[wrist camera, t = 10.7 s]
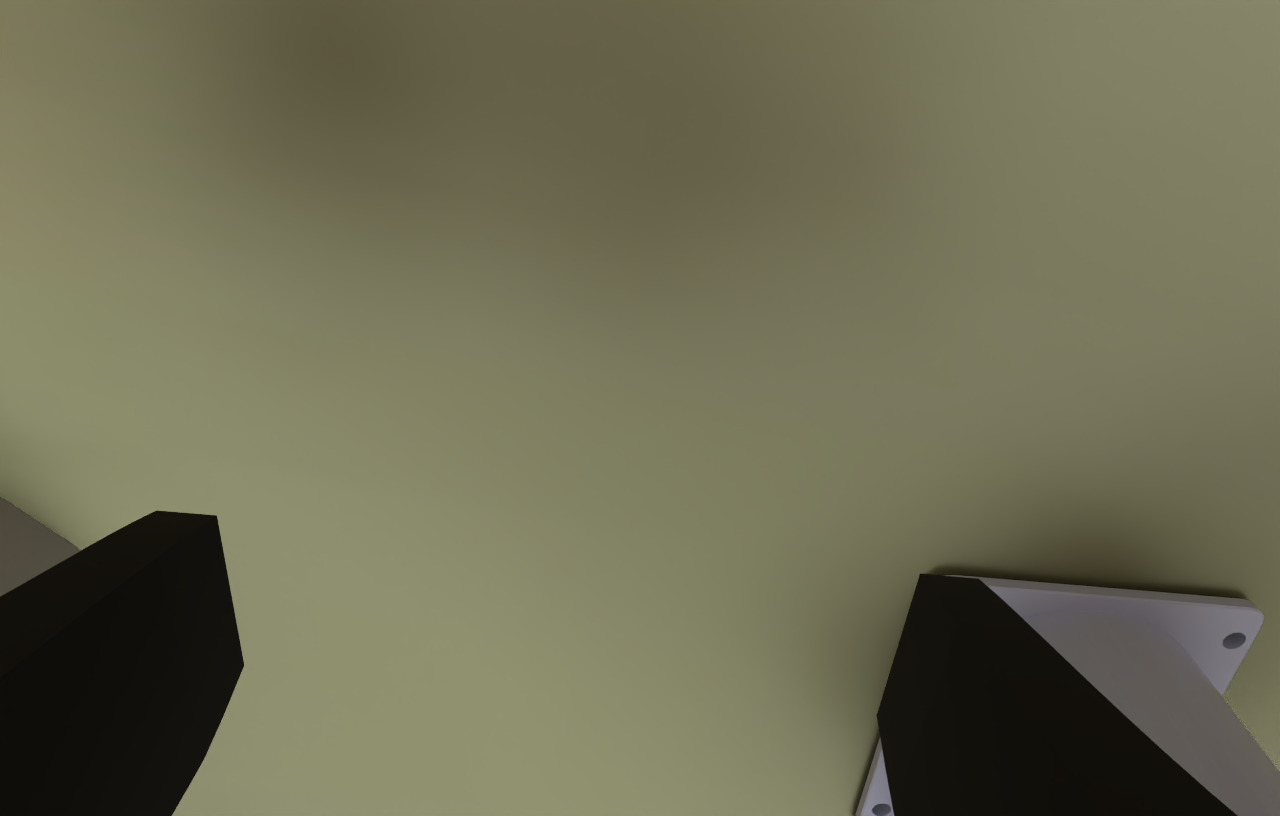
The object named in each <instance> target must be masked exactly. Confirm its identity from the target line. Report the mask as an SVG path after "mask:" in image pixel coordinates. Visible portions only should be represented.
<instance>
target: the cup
mask: <svg viewBox="0 0 1280 816" xmlns="http://www.w3.org/2000/svg"><path fill="white" fill-rule="evenodd" d="M78 552H80V551H79V549H78V548H77V547H76V546H74V545H73V544H71V543H70V542H68V541H67V540H65V539H64V538H62V537H61V536H59V535H58V534H56V533H55V532H53V531H52V530H50V529H48V528H47V527H45V526H44V525H42V524H41V523H39V522H38V521H36V520H35V519H33V518H32V517H30V516H29V515H27V514H26V513H24V512H23V511H21V510H20V509H18V508H17V507H15V506H14V505H12V504H11V503H9V502H8V501H6V500H4V499H1V498H0V596H2V595H4V594H6V593H7V592H9V591H11V590H13V589H14V588H16V587H18V586H20V585H22V584H23V583H25V582H27V581H29V580H30V579H32V578H34V577H36V576H37V575H39V574H41V573H43V572H44V571H46V570H48V569H50V568H51V567H53V566H55V565H57V564H58V563H60V562H62V561H64V560H65V559H67V558H69V557H71V556H72V555H74V554H76V553H78Z"/></svg>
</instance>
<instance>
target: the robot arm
mask: <svg viewBox="0 0 1280 816" xmlns="http://www.w3.org/2000/svg"><path fill="white" fill-rule="evenodd" d="M1263 621H1264V616H1263V613H1262V612H1261V611H1260V610H1259V609H1258V608H1257V607H1256V606H1255V605H1254V604H1253V603H1252V602H1251V601H1249V600H1245V599H1238V598H1226V597H1214V596H1202V595H1189V594H1177V593H1165V592H1153V591H1141V590H1129V589H1117V588H1105V587H1093V586H1081V585H1068V584H1056V583H1044V582H1032V581H1020V580H1008V579H996V578H984V577H972V576H959V575H944V576H942V575H930V574H920V576H919V579H918V582H917V586H916V589H915V592H914V596H913V599H912V602H911V605H910V609H909V612H908V615H907V618H906V622H905V625H904V628H903V631H902V635H901V638H900V641H899V644H898V648H897V651H896V654H895V657H894V661H893V664H892V667H891V671H890V674H889V677H888V680H887V684H886V687H885V690H884V693H883V697H882V700H881V703H880V706H879V710H878V713H877V719H878V726H879V732H880V739H879V742H878V745H877V748H876V751H875V755H874V758H873V761H872V764H871V767H870V770H869V774H868V777H867V780H866V783H865V786H864V790H863V793H862V796H861V799H860V802H859V805H858V809H857V812H856V815H855V816H1280V772H1279V771H1278V769H1277V768H1276V767H1275V765H1274V764H1273V763H1272V761H1271V760H1270V759H1269V757H1268V756H1267V755H1266V754H1265V752H1264V751H1263V750H1262V748H1261V747H1260V746H1259V744H1258V743H1257V742H1256V740H1255V739H1254V738H1253V737H1252V735H1251V734H1250V733H1249V731H1248V730H1247V729H1246V727H1245V726H1244V725H1243V723H1242V722H1241V721H1240V719H1239V718H1238V717H1237V716H1236V714H1235V713H1234V712H1233V710H1232V709H1231V708H1230V706H1229V705H1228V704H1227V702H1226V701H1225V700H1224V699H1223V697H1222V695H1223V694H1224V692H1225V690H1226V688H1227V686H1228V685H1229V683H1230V681H1231V679H1232V678H1233V676H1234V674H1235V672H1236V671H1237V669H1238V667H1239V665H1240V664H1241V662H1242V660H1243V658H1244V657H1245V655H1246V653H1247V651H1248V650H1249V648H1250V646H1251V644H1252V643H1253V641H1254V639H1255V637H1256V636H1257V634H1258V632H1259V630H1260V629H1261V627H1262V625H1263ZM1230 634H1231V635H1230ZM1228 635H1229V636H1228ZM1226 636H1227V637H1226ZM243 667H244V662H243V656H242V651H241V645H240V640H239V634H238V629H237V624H236V618H235V613H234V607H233V602H232V596H231V591H230V585H229V580H228V575H227V569H226V564H225V558H224V553H223V547H222V542H221V536H220V531H219V525H218V520H217V516H215V515H203V514H190V513H178V512H166V511H155V512H153V513H151V514H149V515H147V516H145V517H143V518H141V519H139V520H136V521H134V522H132V523H131V524H129V525H127V526H125V527H123V528H121V529H119V530H117V531H116V532H114V533H112V534H110V535H108V536H106V537H105V538H103V539H101V540H99V541H97V542H96V543H94V544H92V545H90V546H88V547H87V548H85V549H83V550H81V551H80V552H78V553H76V554H74V555H72V556H71V557H69V558H67V559H65V560H64V561H62V562H60V563H58V564H57V565H55V566H53V567H51V568H50V569H48V570H46V571H44V572H43V573H41V574H39V575H37V576H36V577H34V578H32V579H30V580H29V581H27V582H25V583H23V584H22V585H20V586H18V587H16V588H14V589H13V590H11V591H9V592H7V593H6V594H4V595H2V596H0V816H172V814H173V812H174V811H175V809H176V807H177V806H178V804H179V802H180V800H181V799H182V797H183V795H184V793H185V792H186V790H187V788H188V787H189V785H190V783H191V781H192V779H193V778H194V776H195V774H196V772H197V771H198V769H199V767H200V765H201V763H202V762H203V760H204V758H205V756H206V754H207V751H208V749H209V747H210V745H211V742H212V740H213V738H214V736H215V733H216V731H217V729H218V727H219V724H220V722H221V720H222V718H223V715H224V713H225V711H226V708H227V706H228V703H229V701H230V698H231V696H232V694H233V691H234V689H235V686H236V684H237V681H238V679H239V677H240V674H241V672H242V669H243Z"/></svg>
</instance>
